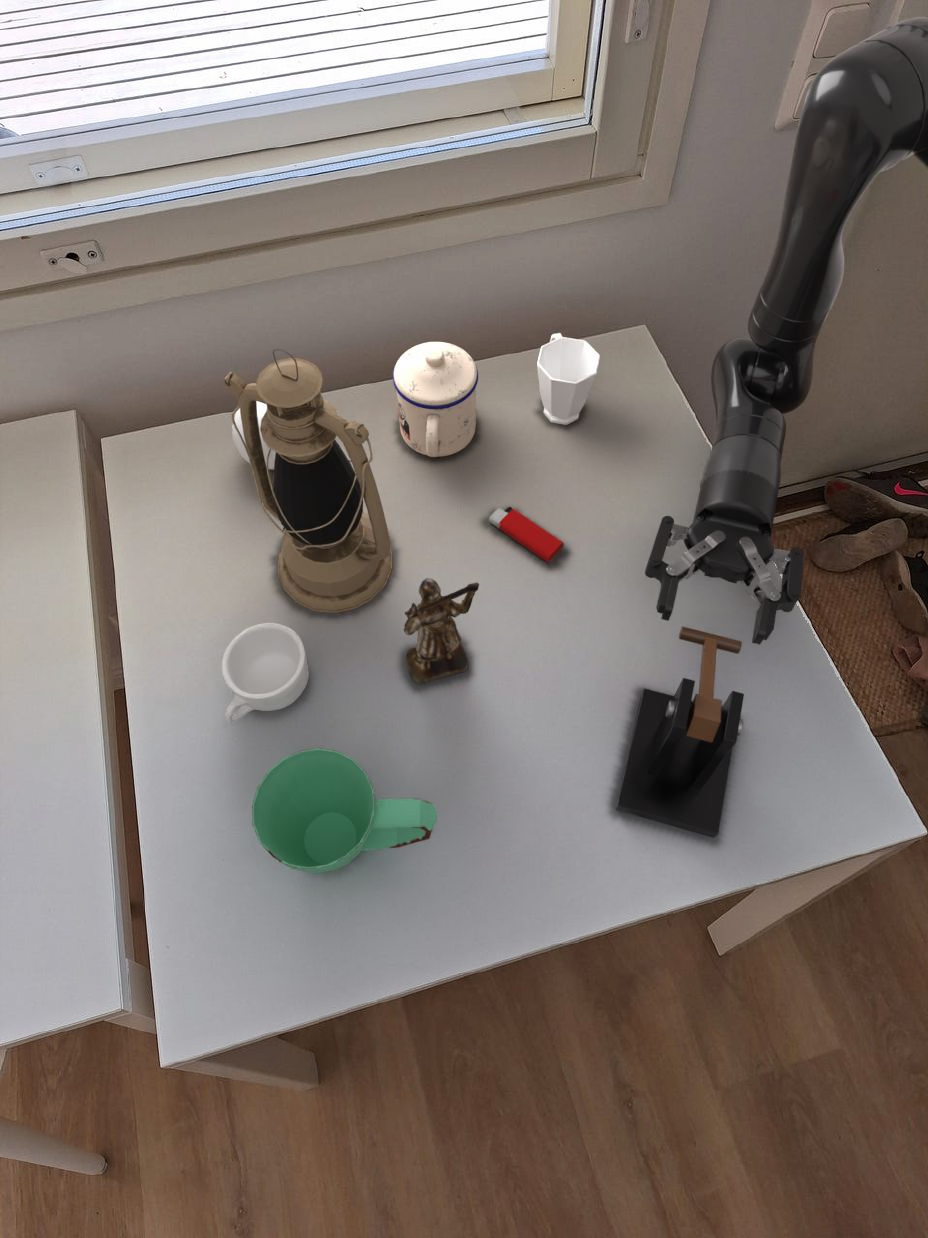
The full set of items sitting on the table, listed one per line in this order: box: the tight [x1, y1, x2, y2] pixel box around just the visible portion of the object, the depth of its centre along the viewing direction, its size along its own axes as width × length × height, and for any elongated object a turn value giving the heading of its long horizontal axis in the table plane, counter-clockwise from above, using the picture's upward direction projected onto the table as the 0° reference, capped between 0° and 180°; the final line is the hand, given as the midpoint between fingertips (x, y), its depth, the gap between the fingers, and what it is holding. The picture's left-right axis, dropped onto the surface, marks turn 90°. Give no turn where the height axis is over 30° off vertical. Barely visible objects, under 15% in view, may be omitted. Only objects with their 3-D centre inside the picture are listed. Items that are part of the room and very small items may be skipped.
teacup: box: [221, 622, 310, 724], centre depth 83 cm, size 10×8×5 cm
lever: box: [678, 626, 743, 743], centre depth 76 cm, size 13×6×2 cm, turn 163°
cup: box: [536, 332, 601, 426], centre depth 100 cm, size 7×10×8 cm
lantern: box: [222, 348, 393, 614], centre depth 80 cm, size 14×12×30 cm
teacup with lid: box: [392, 341, 479, 458], centre depth 96 cm, size 12×9×12 cm
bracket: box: [615, 677, 745, 839], centre depth 76 cm, size 12×9×13 cm
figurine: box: [403, 577, 480, 685], centre depth 81 cm, size 7×4×15 cm, turn 107°
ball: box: [231, 401, 276, 471], centre depth 96 cm, size 8×8×8 cm
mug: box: [251, 747, 438, 874], centre depth 74 cm, size 15×10×10 cm
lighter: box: [488, 506, 565, 563], centre depth 94 cm, size 3×1×8 cm
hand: (712, 628), depth 82 cm, fingers open, 8 cm apart
